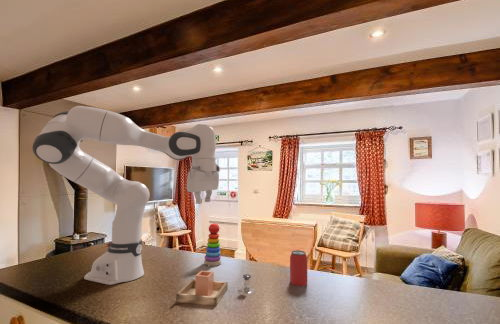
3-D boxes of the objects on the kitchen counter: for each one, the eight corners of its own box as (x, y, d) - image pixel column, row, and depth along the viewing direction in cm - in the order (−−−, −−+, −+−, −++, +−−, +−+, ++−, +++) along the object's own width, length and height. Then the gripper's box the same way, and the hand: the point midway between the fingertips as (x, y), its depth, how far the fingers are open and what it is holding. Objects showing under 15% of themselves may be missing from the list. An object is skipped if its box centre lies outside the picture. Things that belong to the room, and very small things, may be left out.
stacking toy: (218, 267, 119) (218, 225, 120) (201, 265, 120) (202, 224, 121) (223, 261, 127) (223, 222, 128) (207, 260, 128) (208, 221, 129)
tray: (176, 303, 85) (176, 294, 85) (192, 287, 97) (192, 279, 97) (216, 308, 82) (216, 298, 82) (227, 290, 94) (227, 282, 95)
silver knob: (235, 296, 90) (236, 278, 91) (240, 288, 97) (240, 271, 97) (254, 298, 89) (254, 280, 89) (257, 290, 95) (257, 273, 96)
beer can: (286, 283, 101) (286, 252, 102) (296, 279, 106) (296, 248, 106) (301, 289, 96) (301, 255, 97) (310, 283, 101) (310, 252, 102)
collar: (195, 296, 88) (195, 275, 88) (201, 290, 92) (201, 270, 93) (207, 298, 87) (208, 276, 87) (213, 292, 91) (213, 271, 92)
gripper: (198, 165, 91) (198, 205, 90) (221, 167, 110) (221, 200, 109) (182, 165, 92) (181, 205, 92) (207, 167, 112) (207, 200, 111)
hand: (203, 202), depth 101 cm, fingers open, 6 cm apart
